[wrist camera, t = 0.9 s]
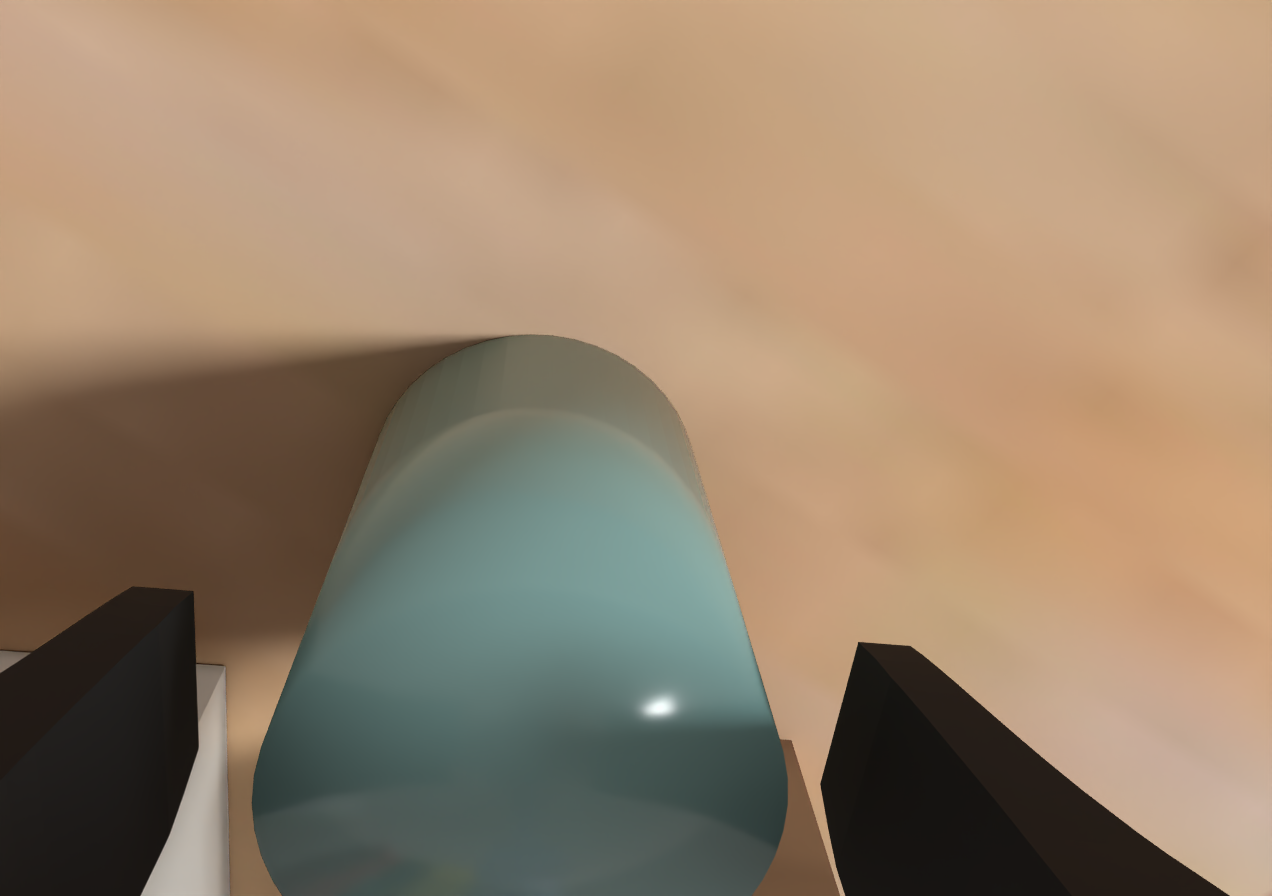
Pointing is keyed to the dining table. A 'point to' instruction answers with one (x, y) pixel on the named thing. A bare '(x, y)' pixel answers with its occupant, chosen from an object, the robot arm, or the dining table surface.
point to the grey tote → (195, 801)
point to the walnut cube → (798, 845)
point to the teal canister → (525, 656)
